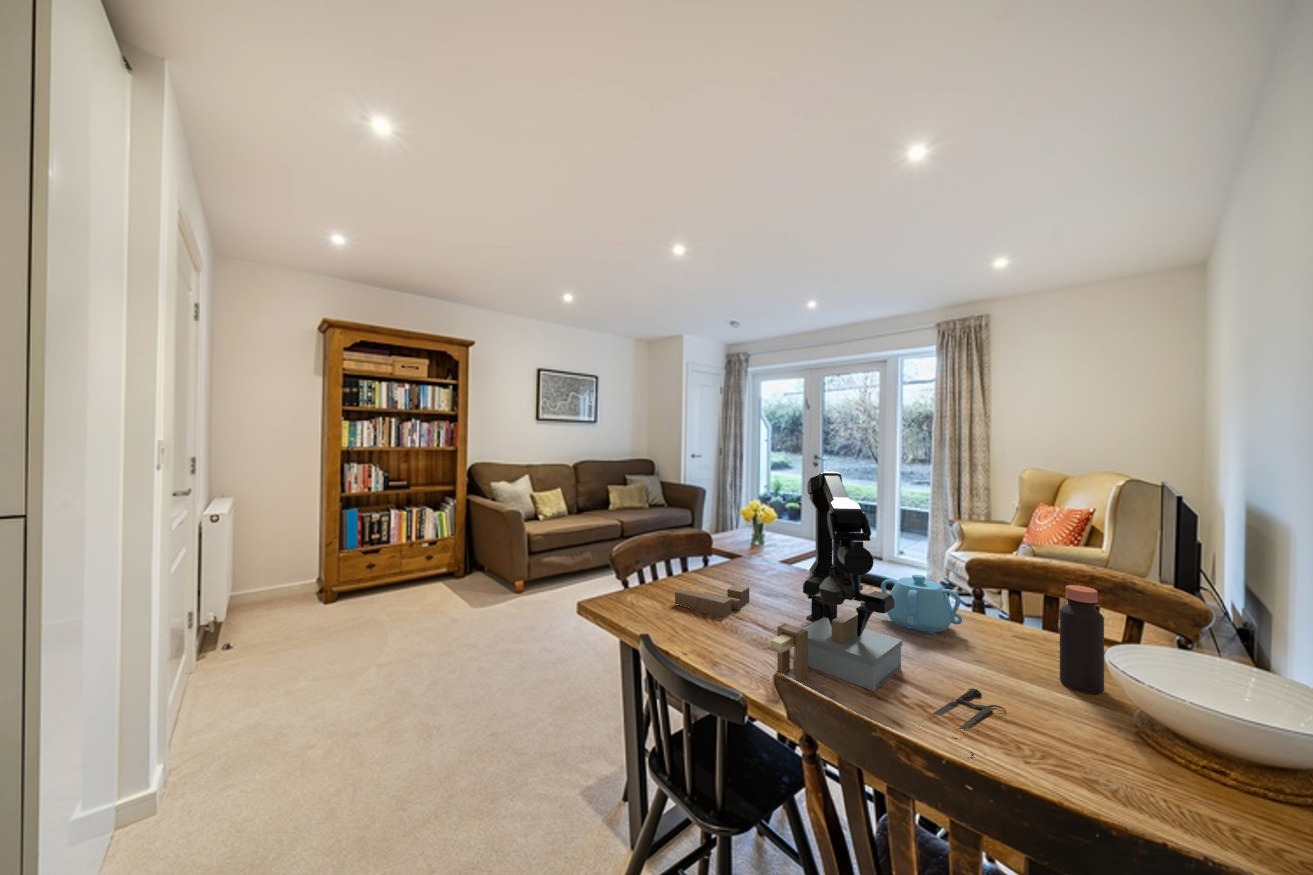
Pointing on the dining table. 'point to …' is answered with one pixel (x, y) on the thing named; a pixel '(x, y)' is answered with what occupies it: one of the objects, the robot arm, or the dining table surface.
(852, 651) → the lid
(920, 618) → the decorative pot
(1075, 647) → the bottle
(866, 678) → the toolbox
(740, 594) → the wooden block set
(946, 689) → the dining table surface
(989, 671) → the dining table surface
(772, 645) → the wooden key
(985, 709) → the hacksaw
